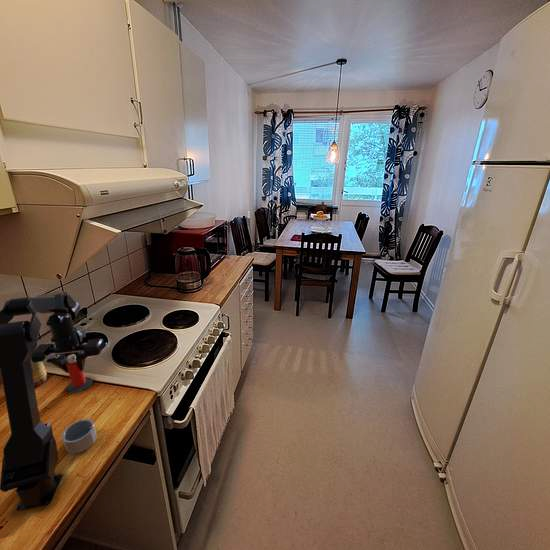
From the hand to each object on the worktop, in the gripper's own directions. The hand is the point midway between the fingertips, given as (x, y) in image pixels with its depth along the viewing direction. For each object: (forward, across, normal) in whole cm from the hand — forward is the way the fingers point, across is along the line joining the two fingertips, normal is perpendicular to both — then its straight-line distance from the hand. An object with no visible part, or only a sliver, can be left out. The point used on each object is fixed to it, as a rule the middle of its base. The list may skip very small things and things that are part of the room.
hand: (75, 371), depth 93 cm
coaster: (+6, 0, 0) cm, 6 cm away
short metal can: (+6, -9, +23) cm, 25 cm away
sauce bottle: (+6, +15, -5) cm, 17 cm away
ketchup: (+5, 0, 0) cm, 5 cm away
